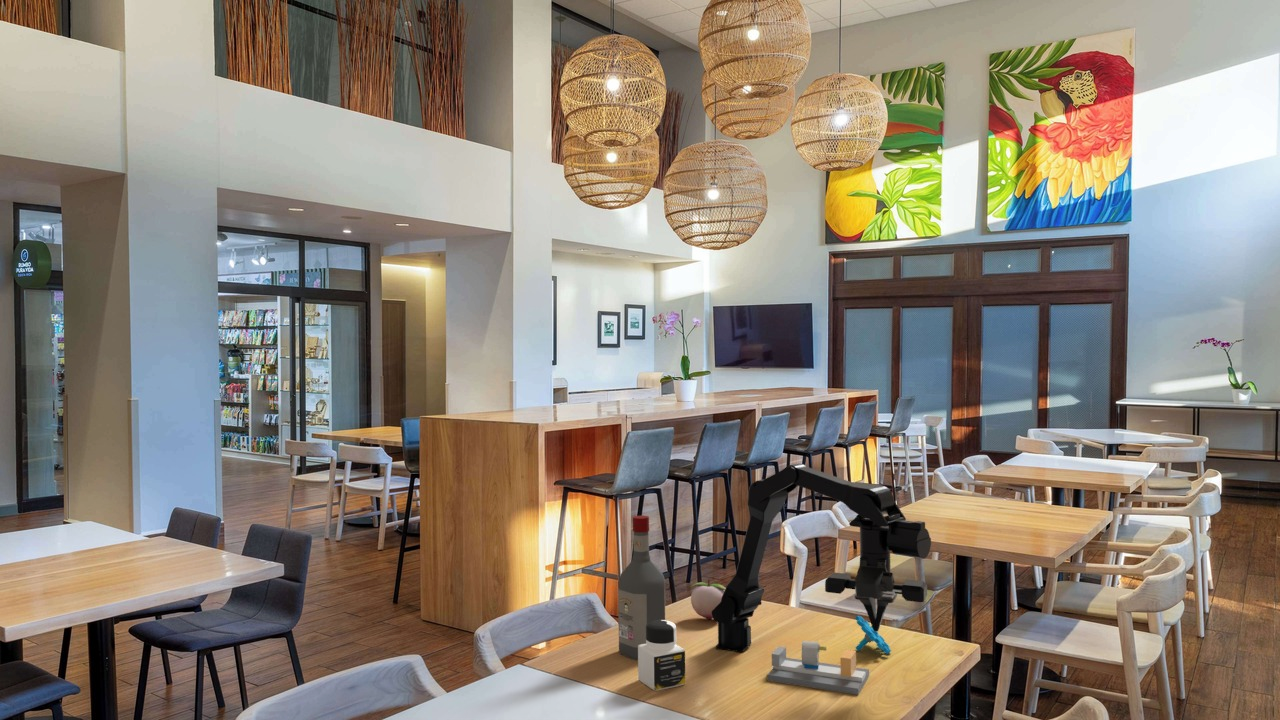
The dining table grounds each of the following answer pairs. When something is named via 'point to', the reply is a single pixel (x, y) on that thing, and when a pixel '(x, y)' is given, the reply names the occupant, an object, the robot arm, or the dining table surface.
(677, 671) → the medicine bottle
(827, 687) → the rail
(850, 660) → the tall tan wooden block
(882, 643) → the gear
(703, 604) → the decorative fruit
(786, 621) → the dining table surface
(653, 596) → the liquor
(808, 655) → the electric motor
